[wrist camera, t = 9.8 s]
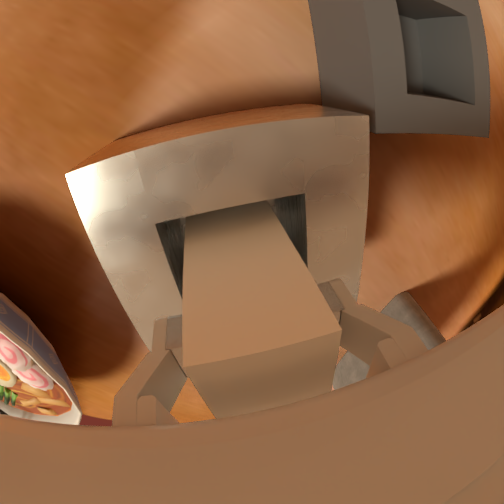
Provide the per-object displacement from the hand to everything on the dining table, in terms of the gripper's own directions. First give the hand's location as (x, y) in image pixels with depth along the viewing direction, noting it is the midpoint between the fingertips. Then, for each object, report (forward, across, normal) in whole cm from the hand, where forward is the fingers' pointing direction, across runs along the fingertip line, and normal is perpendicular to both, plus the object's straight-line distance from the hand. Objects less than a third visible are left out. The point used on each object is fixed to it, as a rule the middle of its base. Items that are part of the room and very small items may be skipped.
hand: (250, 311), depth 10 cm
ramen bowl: (+10, +26, +6) cm, 28 cm away
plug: (+7, 0, 0) cm, 7 cm away
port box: (+9, 0, 0) cm, 9 cm away
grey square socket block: (+9, -12, -10) cm, 18 cm away
